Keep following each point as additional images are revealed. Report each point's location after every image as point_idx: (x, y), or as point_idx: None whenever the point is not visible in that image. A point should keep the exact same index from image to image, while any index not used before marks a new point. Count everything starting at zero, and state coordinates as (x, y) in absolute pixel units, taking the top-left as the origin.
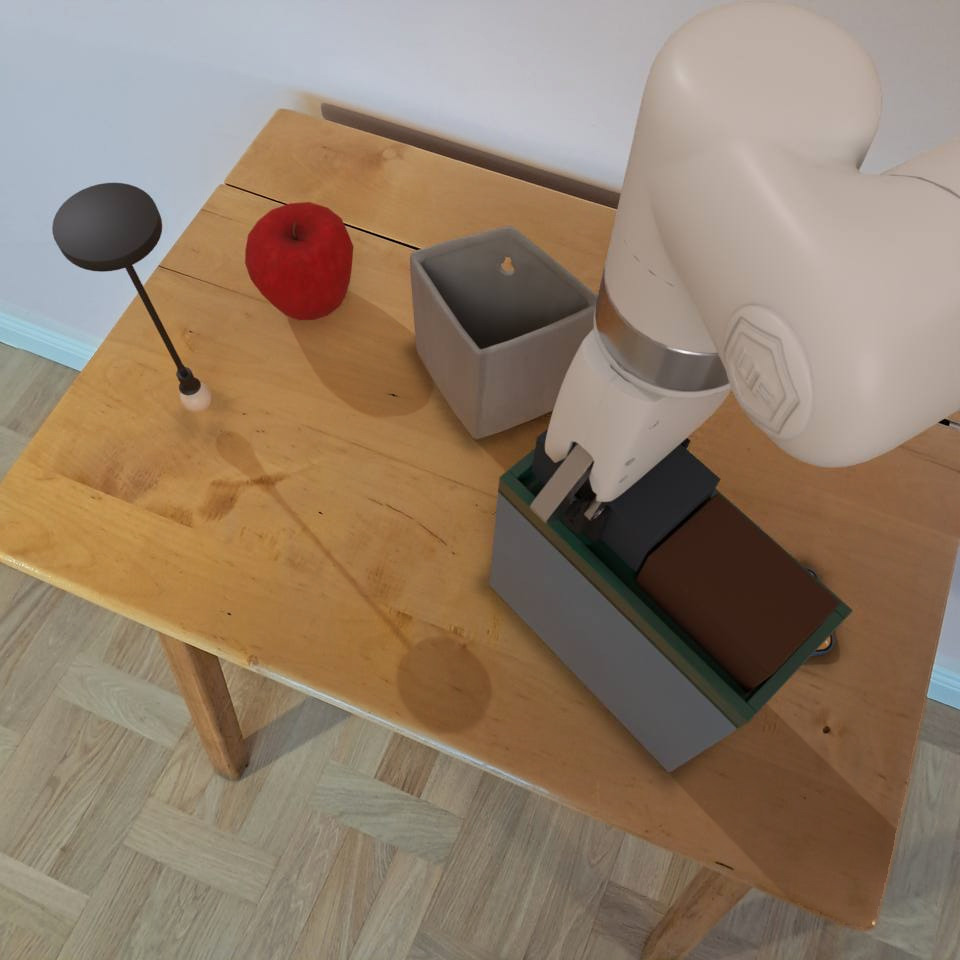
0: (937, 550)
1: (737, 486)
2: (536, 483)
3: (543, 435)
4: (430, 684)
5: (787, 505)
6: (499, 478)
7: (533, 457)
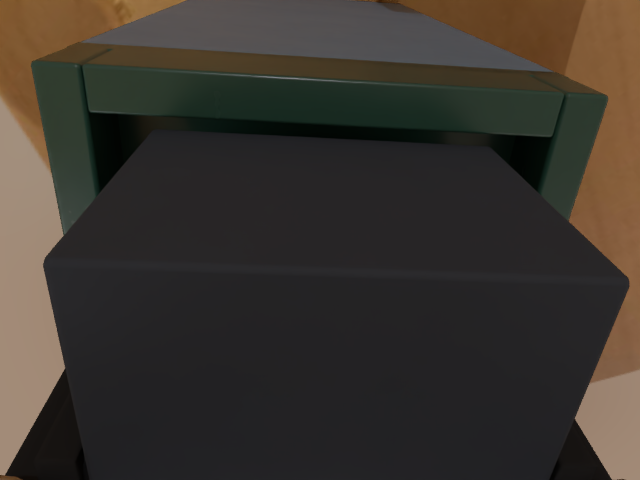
0: (634, 362)
1: (594, 163)
2: (182, 129)
3: (82, 278)
4: (36, 42)
5: (602, 225)
6: (33, 62)
7: (193, 99)
